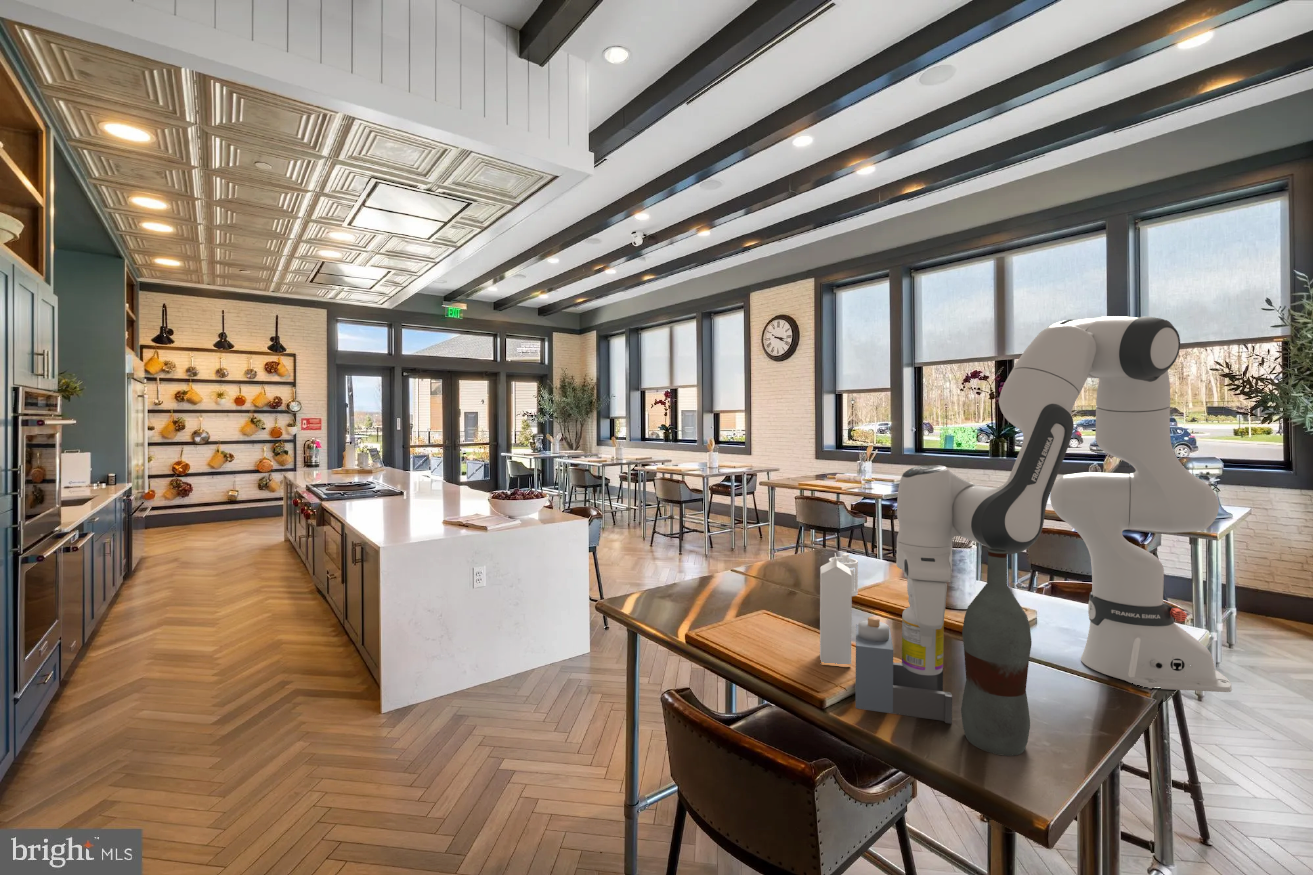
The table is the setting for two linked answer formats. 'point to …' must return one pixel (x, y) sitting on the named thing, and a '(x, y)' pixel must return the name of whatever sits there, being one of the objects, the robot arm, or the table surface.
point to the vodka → (996, 665)
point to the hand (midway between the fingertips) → (922, 637)
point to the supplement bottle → (913, 652)
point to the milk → (835, 613)
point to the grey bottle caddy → (894, 679)
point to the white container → (852, 564)
